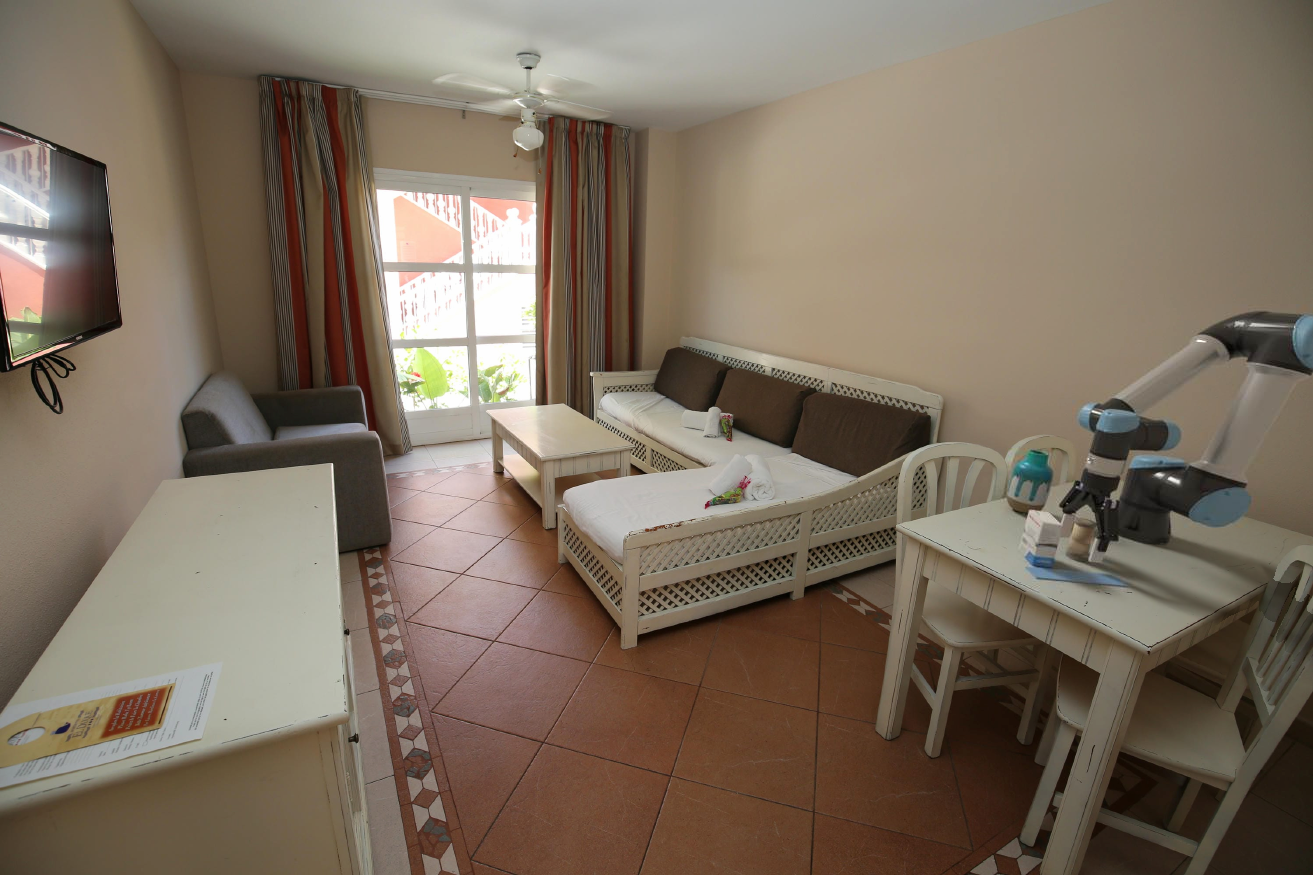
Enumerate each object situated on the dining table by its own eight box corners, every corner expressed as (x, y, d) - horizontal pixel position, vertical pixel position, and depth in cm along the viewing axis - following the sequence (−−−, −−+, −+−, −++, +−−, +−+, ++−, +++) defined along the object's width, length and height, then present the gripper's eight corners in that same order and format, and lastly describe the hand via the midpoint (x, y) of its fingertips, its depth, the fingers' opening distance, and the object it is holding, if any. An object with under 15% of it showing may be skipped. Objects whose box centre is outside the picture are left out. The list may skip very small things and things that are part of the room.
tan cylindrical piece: (1080, 553, 153) (1090, 519, 150) (1090, 562, 148) (1101, 526, 146) (1061, 551, 153) (1071, 517, 151) (1071, 560, 149) (1081, 524, 146)
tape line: (1113, 575, 143) (1114, 574, 142) (1127, 586, 138) (1128, 585, 138) (1025, 567, 144) (1025, 566, 144) (1036, 578, 139) (1036, 577, 139)
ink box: (1052, 568, 144) (1065, 525, 141) (1030, 565, 145) (1043, 522, 142) (1037, 552, 152) (1049, 511, 149) (1017, 549, 153) (1028, 508, 150)
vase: (1005, 501, 185) (1019, 444, 180) (1044, 510, 180) (1060, 452, 174) (1001, 511, 177) (1016, 452, 171) (1041, 521, 171) (1059, 460, 166)
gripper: (1058, 454, 156) (1037, 525, 162) (1120, 489, 132) (1093, 571, 139) (1087, 456, 155) (1065, 528, 162) (1155, 492, 132) (1126, 575, 138)
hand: (1078, 548), depth 150 cm, fingers open, 13 cm apart
